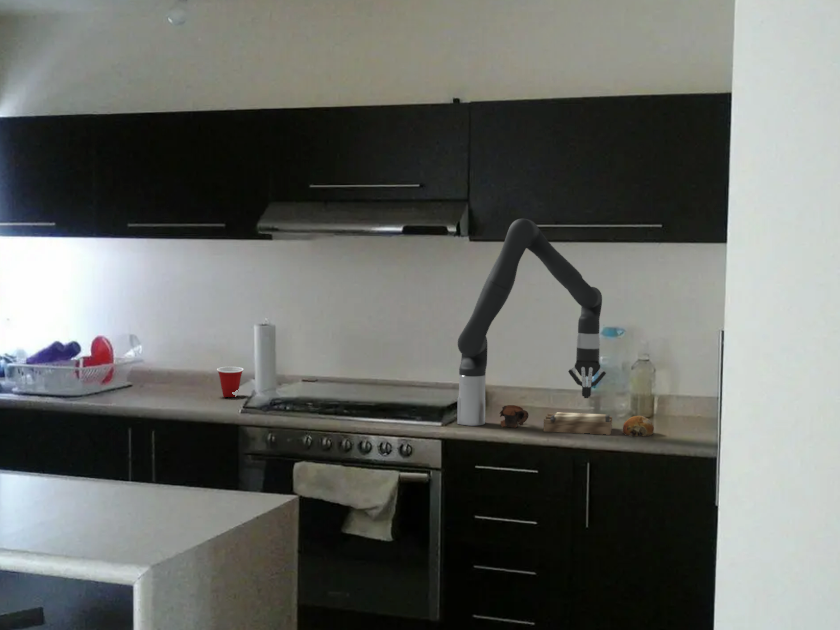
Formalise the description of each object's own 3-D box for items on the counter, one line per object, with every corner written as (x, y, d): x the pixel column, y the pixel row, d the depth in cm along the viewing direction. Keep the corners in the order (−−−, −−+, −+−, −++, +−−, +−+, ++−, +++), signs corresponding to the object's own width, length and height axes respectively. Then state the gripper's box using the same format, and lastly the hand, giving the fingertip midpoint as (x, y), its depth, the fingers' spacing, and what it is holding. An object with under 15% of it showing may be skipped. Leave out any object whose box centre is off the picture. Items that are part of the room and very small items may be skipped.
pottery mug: (492, 427, 317) (494, 405, 321) (508, 436, 323) (510, 414, 326) (520, 423, 309) (522, 400, 313) (536, 432, 315) (538, 409, 319)
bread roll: (656, 445, 303) (662, 422, 305) (640, 436, 297) (647, 413, 299) (630, 441, 311) (636, 419, 312) (615, 432, 304) (621, 409, 306)
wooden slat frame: (543, 431, 308) (543, 416, 308) (547, 424, 320) (547, 410, 319) (610, 434, 303) (610, 420, 302) (611, 428, 314) (612, 414, 314)
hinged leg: (549, 423, 309) (549, 416, 309) (551, 421, 312) (550, 414, 312) (609, 423, 304) (608, 416, 304) (609, 421, 307) (609, 414, 307)
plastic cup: (220, 399, 371) (220, 370, 371) (214, 395, 381) (214, 367, 380) (246, 398, 376) (246, 369, 375) (240, 394, 386) (240, 366, 385)
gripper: (567, 346, 304) (565, 398, 305) (607, 348, 300) (605, 400, 302) (569, 344, 311) (567, 395, 312) (608, 346, 308) (607, 397, 309)
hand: (586, 397), depth 307 cm, fingers closed
